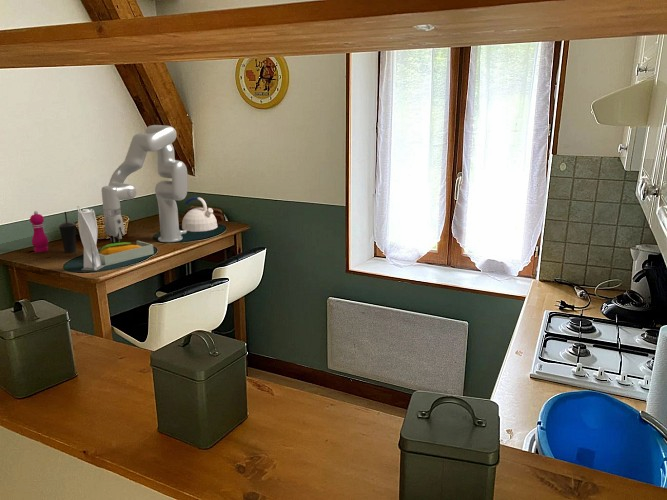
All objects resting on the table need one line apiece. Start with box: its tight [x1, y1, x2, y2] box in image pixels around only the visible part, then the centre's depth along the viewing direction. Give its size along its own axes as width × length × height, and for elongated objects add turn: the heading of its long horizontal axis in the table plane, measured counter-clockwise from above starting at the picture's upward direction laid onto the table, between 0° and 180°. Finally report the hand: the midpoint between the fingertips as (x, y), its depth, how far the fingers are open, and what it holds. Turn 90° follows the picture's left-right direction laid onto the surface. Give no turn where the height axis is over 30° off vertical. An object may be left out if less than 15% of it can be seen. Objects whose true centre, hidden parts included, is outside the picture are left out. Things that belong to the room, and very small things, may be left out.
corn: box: [98, 241, 141, 255], centre depth 265 cm, size 7×8×20 cm
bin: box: [99, 240, 155, 267], centre depth 265 cm, size 25×13×5 cm, turn 142°
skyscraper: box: [76, 205, 106, 272], centre depth 246 cm, size 8×8×28 cm
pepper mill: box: [29, 210, 49, 253], centre depth 274 cm, size 7×7×20 cm
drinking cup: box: [57, 211, 77, 254], centre depth 272 cm, size 8×8×20 cm
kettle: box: [181, 196, 218, 233], centre depth 323 cm, size 20×21×18 cm
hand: (115, 249), depth 269 cm, fingers closed
